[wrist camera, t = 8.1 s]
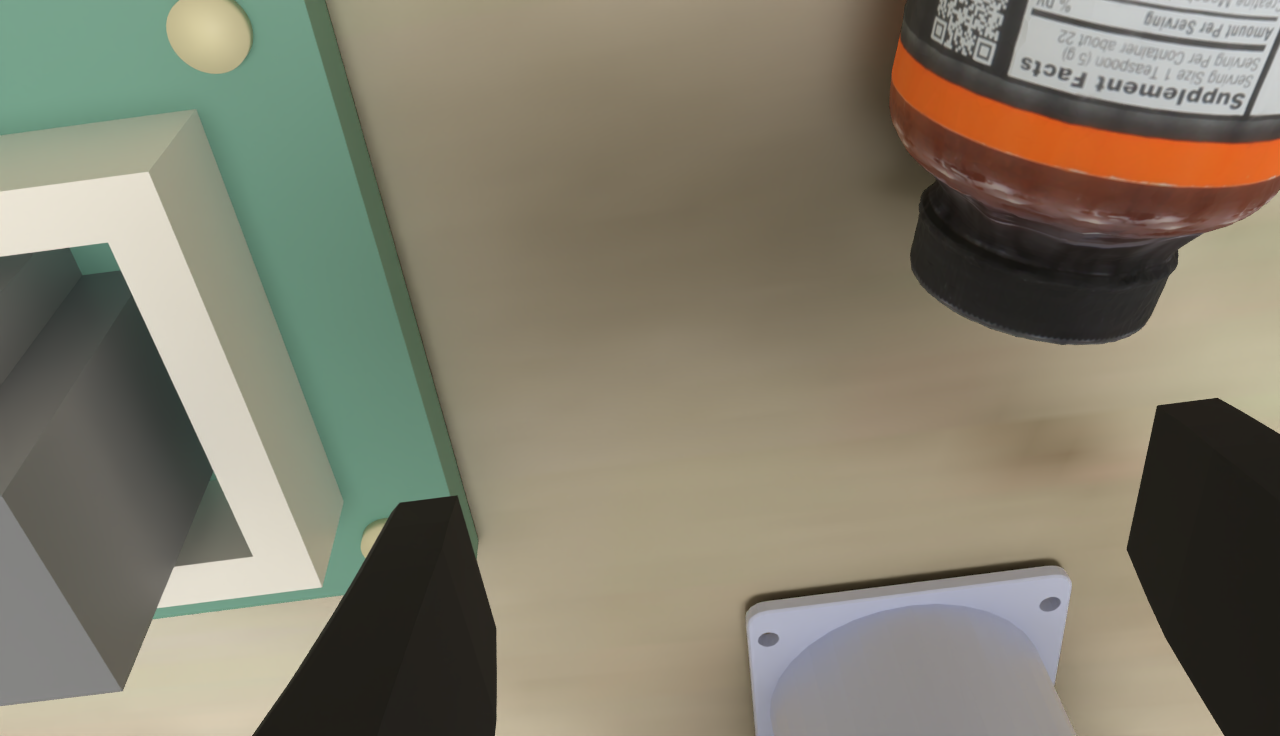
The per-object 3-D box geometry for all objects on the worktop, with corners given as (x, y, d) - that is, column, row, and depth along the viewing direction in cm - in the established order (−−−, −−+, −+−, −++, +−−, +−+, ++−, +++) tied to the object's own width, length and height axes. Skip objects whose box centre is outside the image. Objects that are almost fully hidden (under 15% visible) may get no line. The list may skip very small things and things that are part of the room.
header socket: (343, 501, 22) (322, 587, 20) (-15, 547, 22) (-71, 637, 20) (195, 108, 17) (148, 171, 15) (-265, 171, 17) (-372, 241, 15)
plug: (225, 441, 21) (122, 690, 16) (26, 466, 21) (-137, 722, 16) (127, 216, 18) (-35, 436, 13) (-103, 245, 18) (-352, 476, 13)
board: (478, 540, 24) (472, 605, 23) (-30, 604, 25) (-71, 674, 23) (295, -104, 16) (265, -75, 15) (-458, -1, 17) (-568, 40, 15)
